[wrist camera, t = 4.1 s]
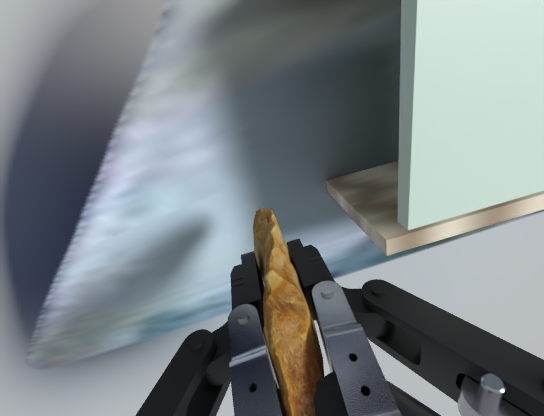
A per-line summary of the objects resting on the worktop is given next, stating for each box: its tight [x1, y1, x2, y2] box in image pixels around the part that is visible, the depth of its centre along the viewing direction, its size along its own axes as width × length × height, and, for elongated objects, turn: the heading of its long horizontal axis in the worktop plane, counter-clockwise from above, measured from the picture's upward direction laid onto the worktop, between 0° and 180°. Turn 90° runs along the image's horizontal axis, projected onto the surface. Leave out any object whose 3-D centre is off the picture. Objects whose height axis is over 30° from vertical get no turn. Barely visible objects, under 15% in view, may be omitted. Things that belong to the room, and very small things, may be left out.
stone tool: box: [253, 208, 324, 416], centre depth 12 cm, size 5×2×15 cm, turn 14°
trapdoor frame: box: [326, 160, 544, 256], centre depth 17 cm, size 17×18×10 cm
